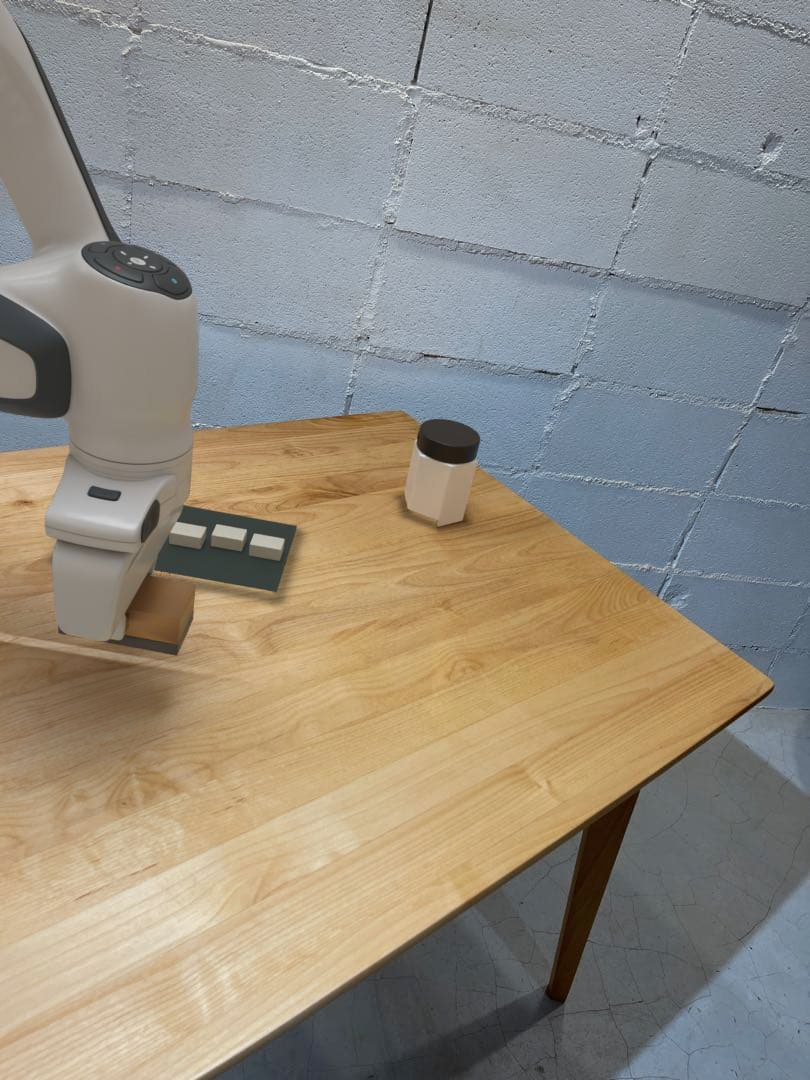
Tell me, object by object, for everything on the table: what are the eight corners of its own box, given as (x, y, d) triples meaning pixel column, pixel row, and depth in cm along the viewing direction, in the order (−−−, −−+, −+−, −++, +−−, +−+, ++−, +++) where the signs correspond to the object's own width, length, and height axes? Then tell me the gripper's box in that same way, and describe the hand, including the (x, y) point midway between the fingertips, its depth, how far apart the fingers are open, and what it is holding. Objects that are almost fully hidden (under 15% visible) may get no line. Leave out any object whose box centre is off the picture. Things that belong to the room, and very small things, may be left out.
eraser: (57, 633, 68) (56, 595, 66) (80, 598, 72) (80, 561, 70) (177, 656, 69) (179, 619, 66) (193, 619, 73) (196, 584, 71)
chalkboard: (55, 561, 88) (54, 552, 87) (102, 498, 100) (102, 490, 99) (275, 600, 89) (276, 591, 89) (296, 533, 101) (297, 525, 100)
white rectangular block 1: (168, 543, 92) (169, 532, 92) (175, 532, 94) (175, 521, 94) (200, 549, 93) (201, 537, 92) (205, 538, 95) (206, 526, 94)
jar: (438, 490, 117) (456, 414, 111) (474, 519, 112) (495, 441, 106) (389, 501, 112) (404, 422, 106) (424, 531, 107) (443, 450, 101)
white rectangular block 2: (210, 546, 93) (211, 534, 93) (215, 535, 95) (216, 523, 95) (241, 551, 94) (242, 540, 93) (246, 540, 96) (247, 529, 95)
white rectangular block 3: (248, 555, 93) (249, 544, 92) (252, 544, 95) (254, 533, 94) (279, 561, 93) (281, 549, 93) (283, 550, 96) (284, 538, 95)
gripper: (135, 407, 71) (131, 538, 78) (32, 529, 53) (39, 684, 61) (207, 422, 71) (197, 551, 78) (128, 548, 54) (124, 699, 61)
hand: (127, 610), depth 69 cm, fingers closed on eraser, 5 cm apart
